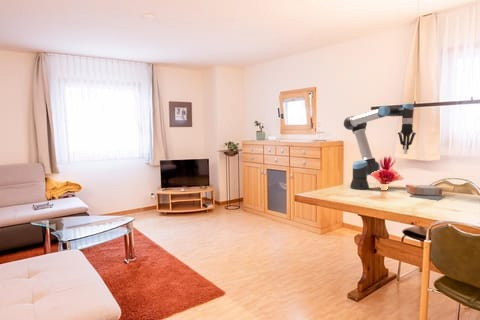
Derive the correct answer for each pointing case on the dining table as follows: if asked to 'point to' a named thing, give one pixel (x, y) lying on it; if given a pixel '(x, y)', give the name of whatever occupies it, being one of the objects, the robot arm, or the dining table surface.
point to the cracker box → (424, 190)
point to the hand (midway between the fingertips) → (405, 153)
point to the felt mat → (428, 197)
